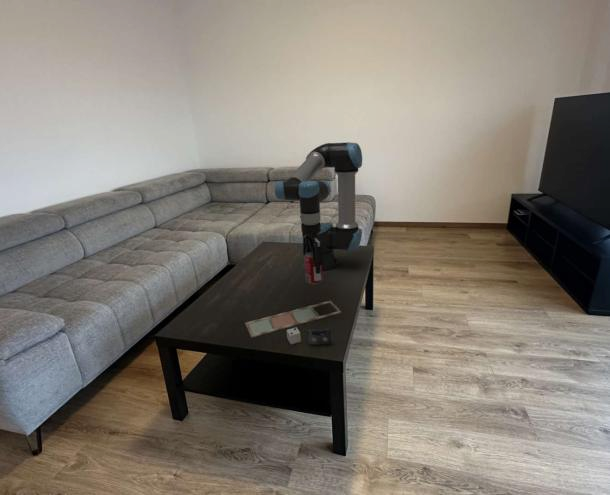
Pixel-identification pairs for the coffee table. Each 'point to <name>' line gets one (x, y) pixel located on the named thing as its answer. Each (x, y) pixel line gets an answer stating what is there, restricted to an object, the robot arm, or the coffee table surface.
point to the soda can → (310, 269)
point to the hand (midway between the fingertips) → (313, 276)
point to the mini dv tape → (319, 336)
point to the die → (293, 335)
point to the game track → (286, 320)
